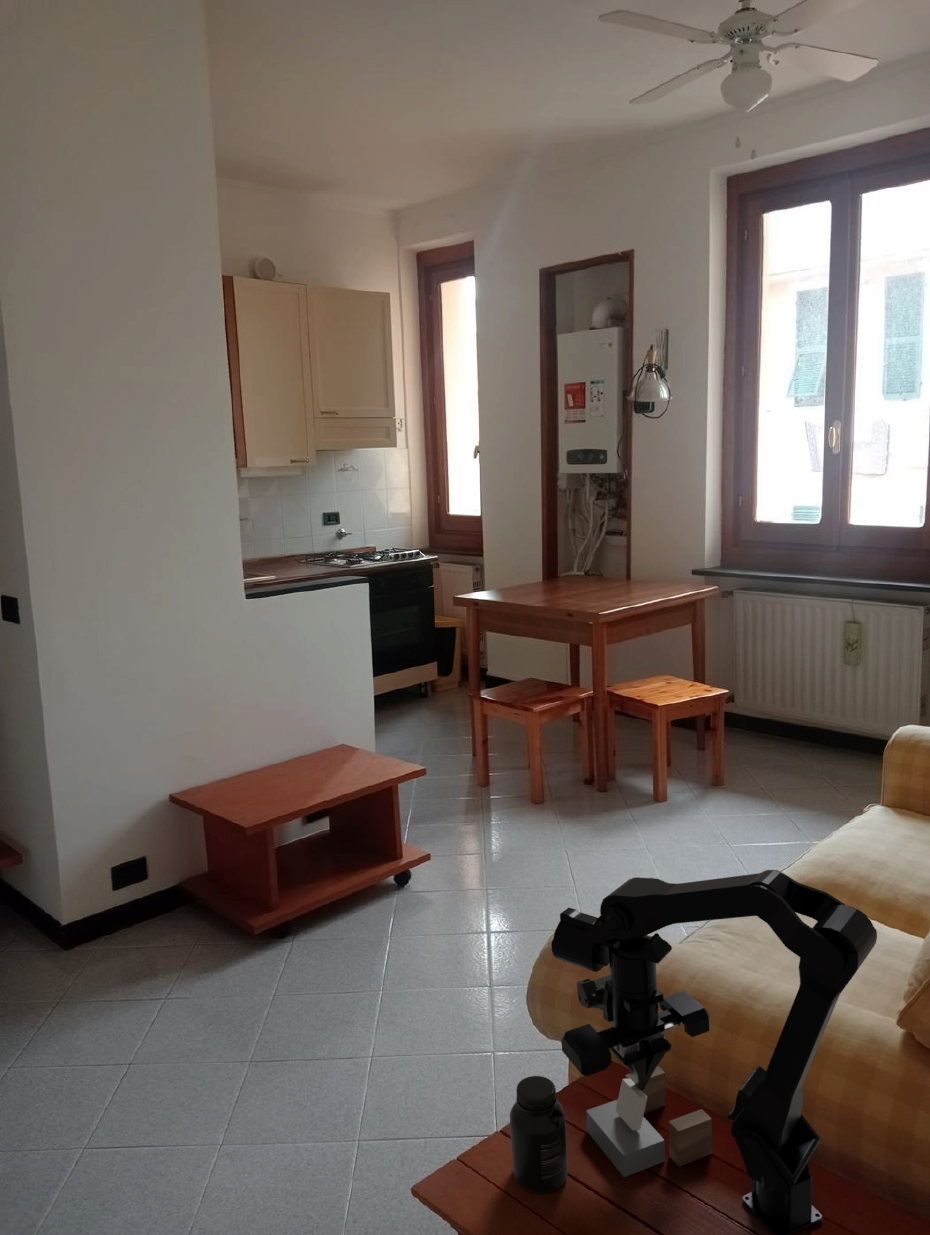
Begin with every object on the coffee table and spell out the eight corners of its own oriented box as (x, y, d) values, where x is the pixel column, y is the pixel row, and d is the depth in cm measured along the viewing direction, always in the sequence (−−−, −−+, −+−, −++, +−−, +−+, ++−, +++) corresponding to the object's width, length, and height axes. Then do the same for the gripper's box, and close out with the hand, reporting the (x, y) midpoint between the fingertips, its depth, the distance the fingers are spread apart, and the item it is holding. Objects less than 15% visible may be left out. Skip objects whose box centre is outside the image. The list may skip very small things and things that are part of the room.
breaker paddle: (640, 1129, 120) (647, 1096, 120) (632, 1130, 120) (639, 1097, 119) (623, 1110, 124) (630, 1078, 123) (615, 1110, 123) (622, 1078, 123)
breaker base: (664, 1161, 119) (664, 1139, 119) (623, 1177, 117) (623, 1155, 116) (625, 1116, 127) (625, 1096, 127) (586, 1130, 125) (586, 1110, 124)
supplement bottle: (567, 1155, 121) (564, 1070, 119) (568, 1196, 114) (565, 1107, 112) (513, 1153, 122) (510, 1069, 120) (511, 1194, 115) (507, 1106, 113)
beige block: (711, 1153, 120) (711, 1118, 119) (678, 1167, 118) (678, 1131, 117) (701, 1143, 122) (701, 1108, 121) (669, 1156, 120) (668, 1121, 119)
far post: (665, 1105, 129) (664, 1072, 128) (634, 1117, 127) (633, 1083, 126) (656, 1096, 131) (656, 1064, 130) (625, 1108, 129) (625, 1074, 128)
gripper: (660, 930, 129) (665, 1032, 132) (537, 969, 123) (545, 1075, 126) (710, 971, 119) (714, 1080, 122) (579, 1016, 112) (587, 1130, 116)
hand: (639, 1089), depth 122 cm, fingers closed, pressing on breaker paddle
